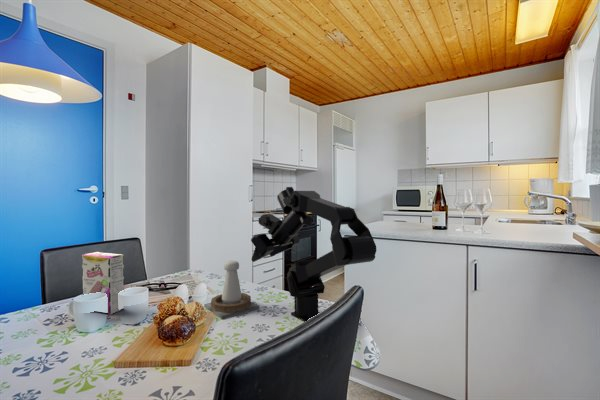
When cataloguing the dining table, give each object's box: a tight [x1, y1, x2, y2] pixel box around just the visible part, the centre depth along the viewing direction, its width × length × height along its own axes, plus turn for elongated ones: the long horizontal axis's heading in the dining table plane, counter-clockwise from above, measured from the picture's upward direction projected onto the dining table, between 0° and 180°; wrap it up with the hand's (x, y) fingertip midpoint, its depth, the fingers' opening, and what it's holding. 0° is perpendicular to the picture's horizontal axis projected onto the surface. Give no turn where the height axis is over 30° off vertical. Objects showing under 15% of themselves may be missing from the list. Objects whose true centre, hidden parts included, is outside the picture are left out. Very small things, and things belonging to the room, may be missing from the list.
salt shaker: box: [221, 260, 242, 305], centre depth 89 cm, size 6×6×13 cm
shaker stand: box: [203, 292, 260, 320], centre depth 89 cm, size 12×12×3 cm
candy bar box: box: [81, 251, 125, 316], centre depth 87 cm, size 11×5×16 cm, turn 71°
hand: (261, 257), depth 95 cm, fingers open, 9 cm apart
